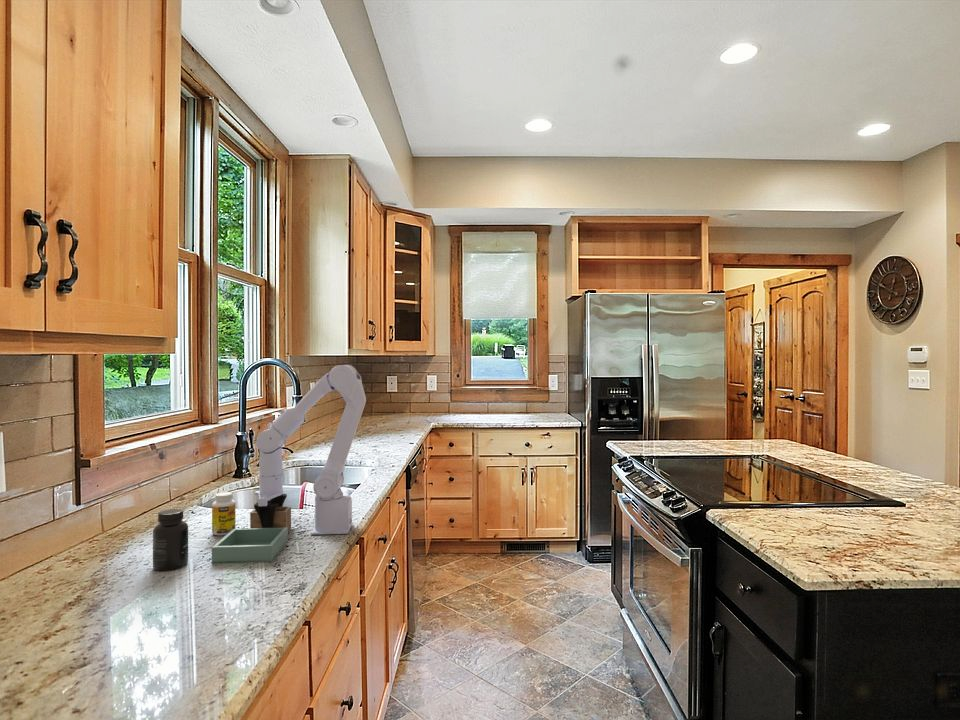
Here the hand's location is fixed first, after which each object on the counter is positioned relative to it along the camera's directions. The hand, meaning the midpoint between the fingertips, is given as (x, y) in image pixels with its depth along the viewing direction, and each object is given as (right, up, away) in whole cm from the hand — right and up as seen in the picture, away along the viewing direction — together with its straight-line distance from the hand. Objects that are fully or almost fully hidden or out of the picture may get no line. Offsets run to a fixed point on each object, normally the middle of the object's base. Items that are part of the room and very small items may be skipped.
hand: (271, 526), depth 142 cm
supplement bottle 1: (-13, -2, -23) cm, 27 cm away
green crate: (+1, -2, -15) cm, 15 cm away
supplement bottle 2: (-12, -2, -1) cm, 12 cm away
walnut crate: (0, -2, 0) cm, 2 cm away
